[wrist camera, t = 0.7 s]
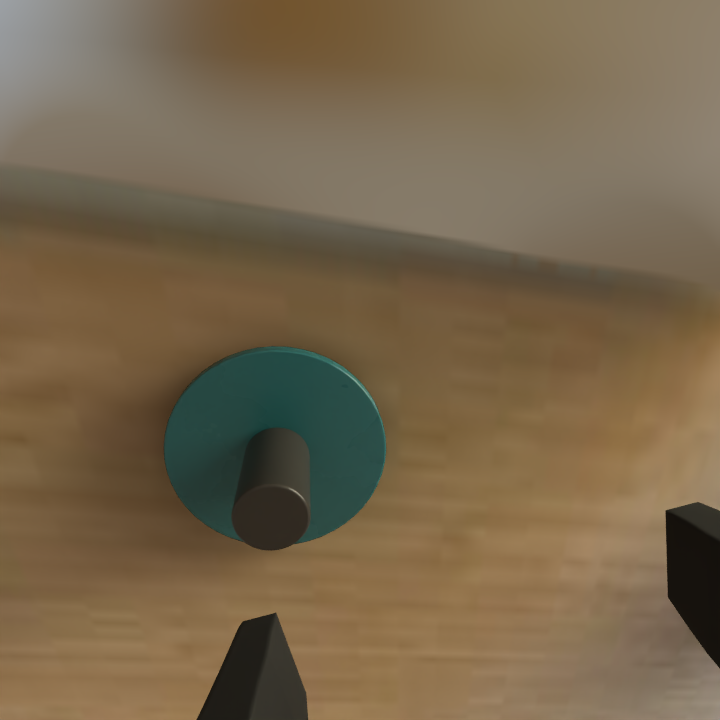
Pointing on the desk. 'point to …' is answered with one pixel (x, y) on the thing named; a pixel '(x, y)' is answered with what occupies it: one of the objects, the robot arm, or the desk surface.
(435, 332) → the desk surface
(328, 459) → the tin lid
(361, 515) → the desk surface
